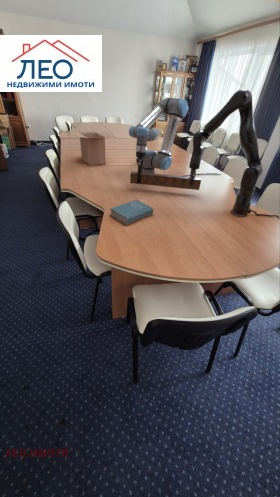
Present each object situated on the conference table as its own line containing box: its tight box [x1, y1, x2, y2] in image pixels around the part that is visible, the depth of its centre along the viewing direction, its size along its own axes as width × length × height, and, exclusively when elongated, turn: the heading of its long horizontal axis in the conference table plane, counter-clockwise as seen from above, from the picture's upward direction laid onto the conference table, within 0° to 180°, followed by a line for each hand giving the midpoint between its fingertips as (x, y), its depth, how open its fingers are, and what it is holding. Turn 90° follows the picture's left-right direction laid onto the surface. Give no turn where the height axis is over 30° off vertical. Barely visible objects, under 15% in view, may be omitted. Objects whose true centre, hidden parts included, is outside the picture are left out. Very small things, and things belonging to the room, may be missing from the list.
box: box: [70, 129, 114, 166], centre depth 229 cm, size 44×36×27 cm
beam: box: [129, 171, 202, 191], centre depth 173 cm, size 54×4×8 cm, turn 84°
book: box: [109, 199, 154, 226], centre depth 142 cm, size 23×16×5 cm
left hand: (139, 182), depth 176 cm, fingers closed on beam, 4 cm apart
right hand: (190, 184), depth 172 cm, fingers closed on beam, 4 cm apart
